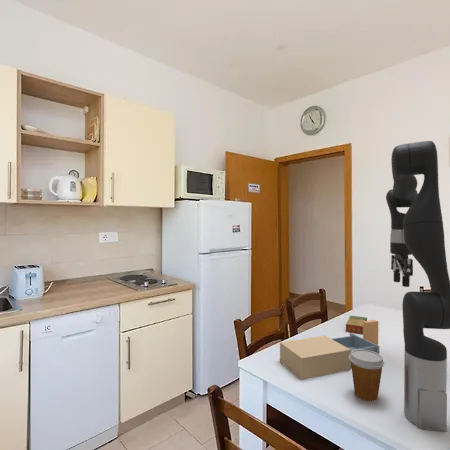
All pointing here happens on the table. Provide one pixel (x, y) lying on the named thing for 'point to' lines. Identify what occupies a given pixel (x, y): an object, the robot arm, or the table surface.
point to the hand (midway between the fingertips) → (401, 284)
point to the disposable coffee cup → (366, 373)
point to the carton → (355, 324)
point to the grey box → (364, 343)
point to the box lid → (314, 356)
